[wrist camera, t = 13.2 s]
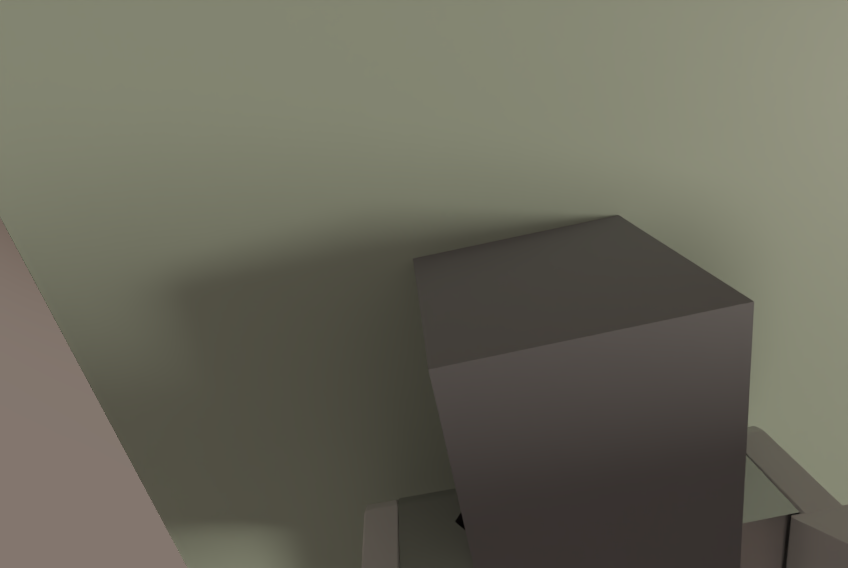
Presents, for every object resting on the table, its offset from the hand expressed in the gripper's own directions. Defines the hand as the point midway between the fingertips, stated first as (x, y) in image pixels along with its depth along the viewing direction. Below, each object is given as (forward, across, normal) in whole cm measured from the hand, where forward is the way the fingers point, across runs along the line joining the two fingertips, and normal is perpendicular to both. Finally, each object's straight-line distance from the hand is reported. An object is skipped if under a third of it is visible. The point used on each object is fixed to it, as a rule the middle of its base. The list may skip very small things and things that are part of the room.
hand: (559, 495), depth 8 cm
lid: (+3, 0, 0) cm, 3 cm away
